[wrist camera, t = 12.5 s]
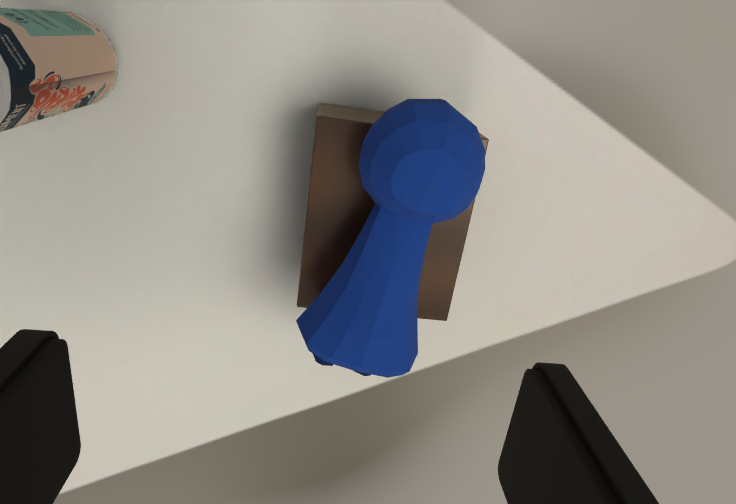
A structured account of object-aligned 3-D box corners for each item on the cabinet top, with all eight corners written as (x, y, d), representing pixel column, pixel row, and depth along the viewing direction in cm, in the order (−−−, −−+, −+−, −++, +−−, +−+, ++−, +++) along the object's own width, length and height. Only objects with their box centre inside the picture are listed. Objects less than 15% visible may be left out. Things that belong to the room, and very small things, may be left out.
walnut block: (318, 102, 31) (316, 115, 26) (466, 123, 32) (489, 139, 27) (301, 270, 35) (296, 307, 30) (431, 284, 36) (446, 321, 31)
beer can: (46, 107, 30) (-121, 153, 19) (17, 16, 28) (-189, 7, 17) (131, 99, 30) (14, 140, 19) (107, 8, 28) (-38, -7, 17)
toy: (394, 348, 32) (500, 118, 27) (406, 421, 27) (544, 149, 21) (288, 320, 31) (375, 71, 25) (278, 390, 25) (386, 90, 20)
